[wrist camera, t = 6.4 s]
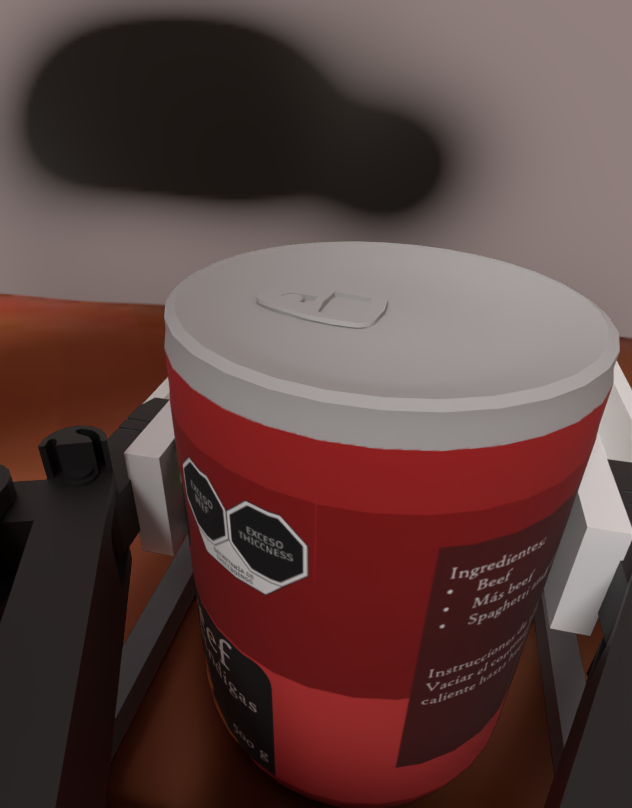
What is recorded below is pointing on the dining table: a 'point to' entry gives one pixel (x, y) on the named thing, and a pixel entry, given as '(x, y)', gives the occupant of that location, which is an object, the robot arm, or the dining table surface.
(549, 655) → the rectangular frames
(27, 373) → the dining table surface
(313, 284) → the canned food
